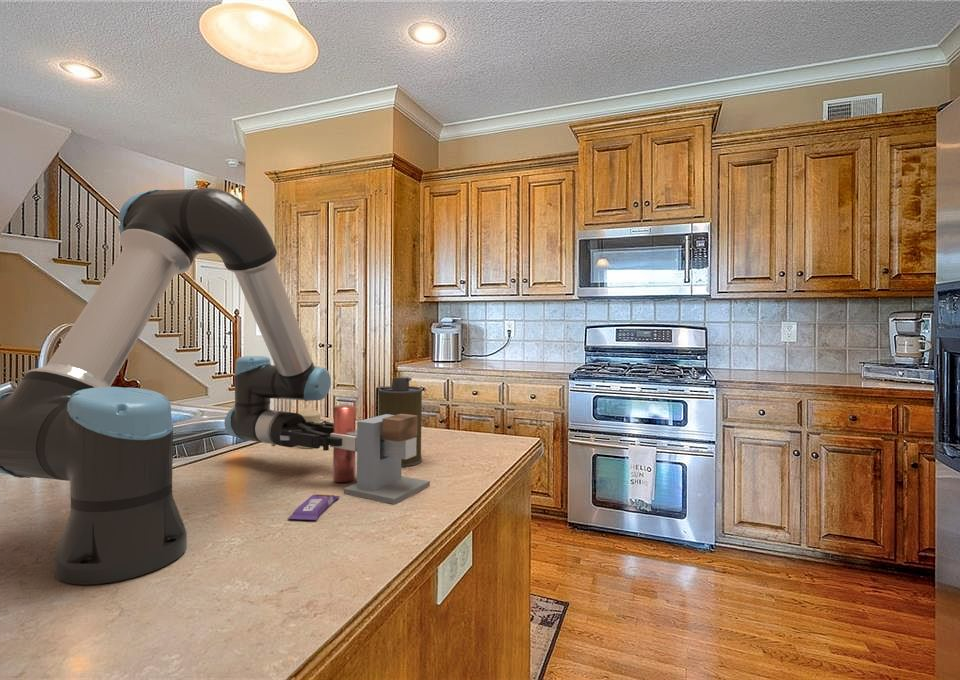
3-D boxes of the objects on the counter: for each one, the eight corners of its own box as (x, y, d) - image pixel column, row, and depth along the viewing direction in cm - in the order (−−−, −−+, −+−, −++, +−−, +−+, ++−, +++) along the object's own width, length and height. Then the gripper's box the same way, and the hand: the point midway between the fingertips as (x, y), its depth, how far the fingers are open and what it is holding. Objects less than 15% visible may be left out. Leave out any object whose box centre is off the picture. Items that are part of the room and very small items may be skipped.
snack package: (315, 514, 86) (286, 513, 86) (316, 525, 86) (286, 524, 86) (340, 491, 97) (314, 490, 98) (340, 501, 98) (314, 500, 98)
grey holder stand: (394, 504, 95) (394, 428, 94) (343, 493, 100) (343, 421, 100) (429, 486, 105) (430, 417, 105) (382, 477, 111) (382, 412, 110)
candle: (324, 445, 137) (324, 408, 137) (307, 449, 133) (307, 411, 132) (310, 442, 140) (310, 406, 140) (293, 446, 136) (293, 408, 135)
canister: (425, 456, 128) (426, 375, 127) (416, 468, 118) (417, 380, 117) (382, 454, 129) (383, 374, 128) (369, 466, 119) (370, 379, 118)
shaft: (404, 495, 98) (404, 416, 98) (328, 479, 107) (328, 407, 106) (417, 488, 102) (417, 413, 102) (343, 474, 111) (343, 404, 110)
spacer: (399, 441, 97) (399, 420, 97) (382, 439, 99) (382, 418, 99) (417, 435, 103) (417, 415, 103) (400, 433, 105) (401, 413, 104)
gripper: (311, 437, 124) (390, 450, 113) (249, 453, 108) (334, 470, 97) (311, 406, 123) (391, 415, 113) (249, 418, 108) (334, 430, 97)
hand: (364, 441), depth 105 cm, fingers closed on shaft, 4 cm apart
